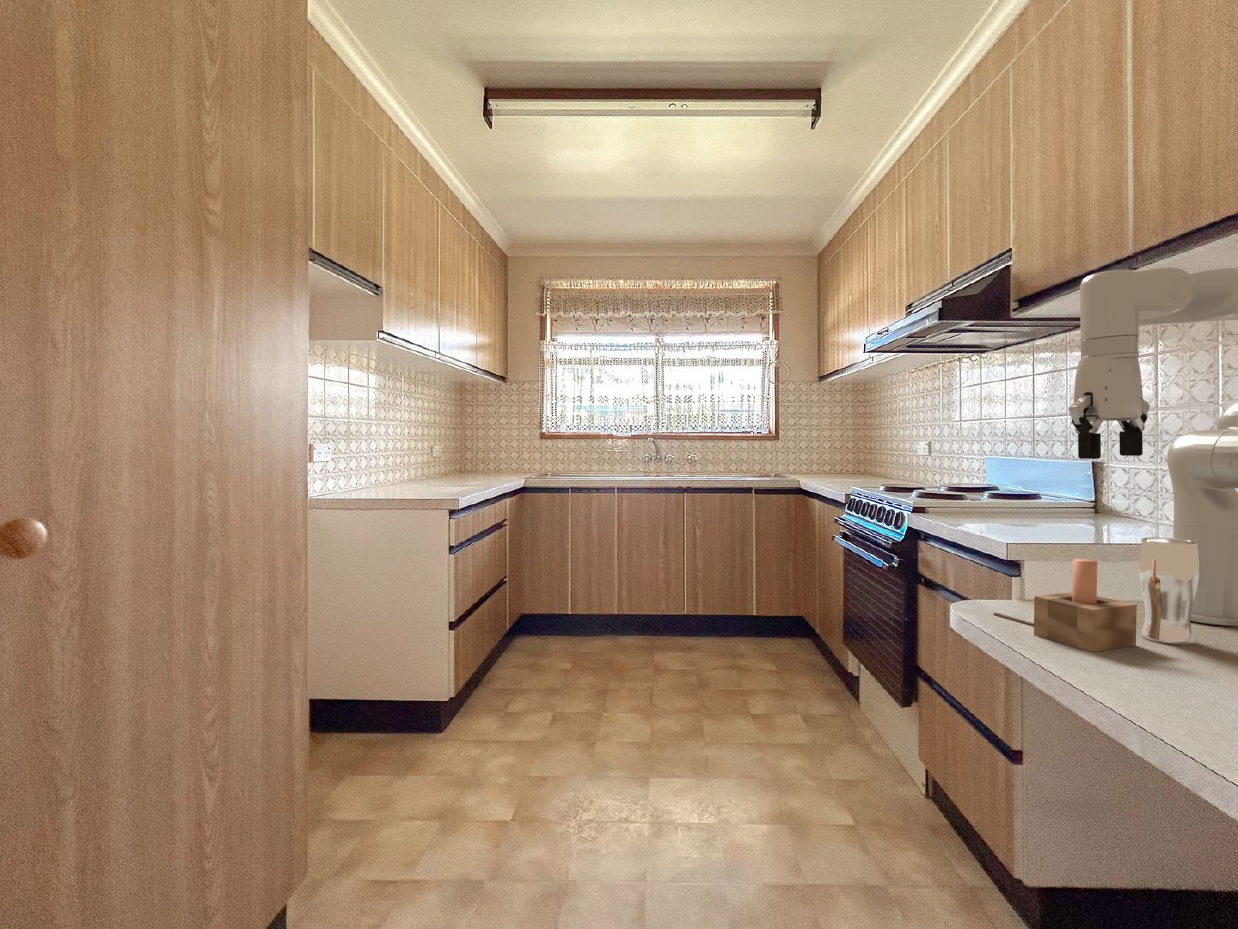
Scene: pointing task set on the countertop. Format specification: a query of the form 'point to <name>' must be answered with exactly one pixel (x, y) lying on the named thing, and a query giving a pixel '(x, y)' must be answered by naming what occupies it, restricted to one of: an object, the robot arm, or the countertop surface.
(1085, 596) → the dowel
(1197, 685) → the countertop surface
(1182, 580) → the beer glass
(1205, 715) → the countertop surface
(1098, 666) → the countertop surface
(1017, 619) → the brown thin square rod
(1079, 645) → the wooden block with hole
